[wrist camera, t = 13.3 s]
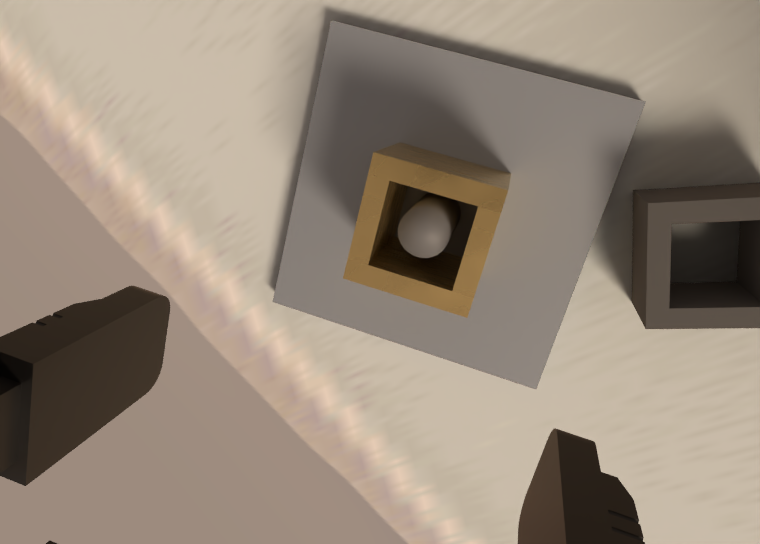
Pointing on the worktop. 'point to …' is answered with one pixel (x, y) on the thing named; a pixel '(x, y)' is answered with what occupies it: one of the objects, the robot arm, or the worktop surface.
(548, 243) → the post block
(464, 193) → the brass collar
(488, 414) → the worktop surface
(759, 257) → the grey hollow square block
